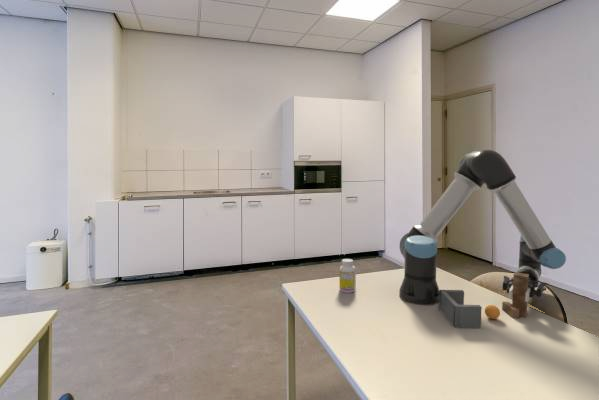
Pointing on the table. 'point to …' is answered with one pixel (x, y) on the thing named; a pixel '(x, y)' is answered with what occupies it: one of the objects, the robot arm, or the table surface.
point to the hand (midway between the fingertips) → (518, 296)
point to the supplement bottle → (347, 276)
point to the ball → (492, 312)
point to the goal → (459, 309)
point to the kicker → (517, 296)
